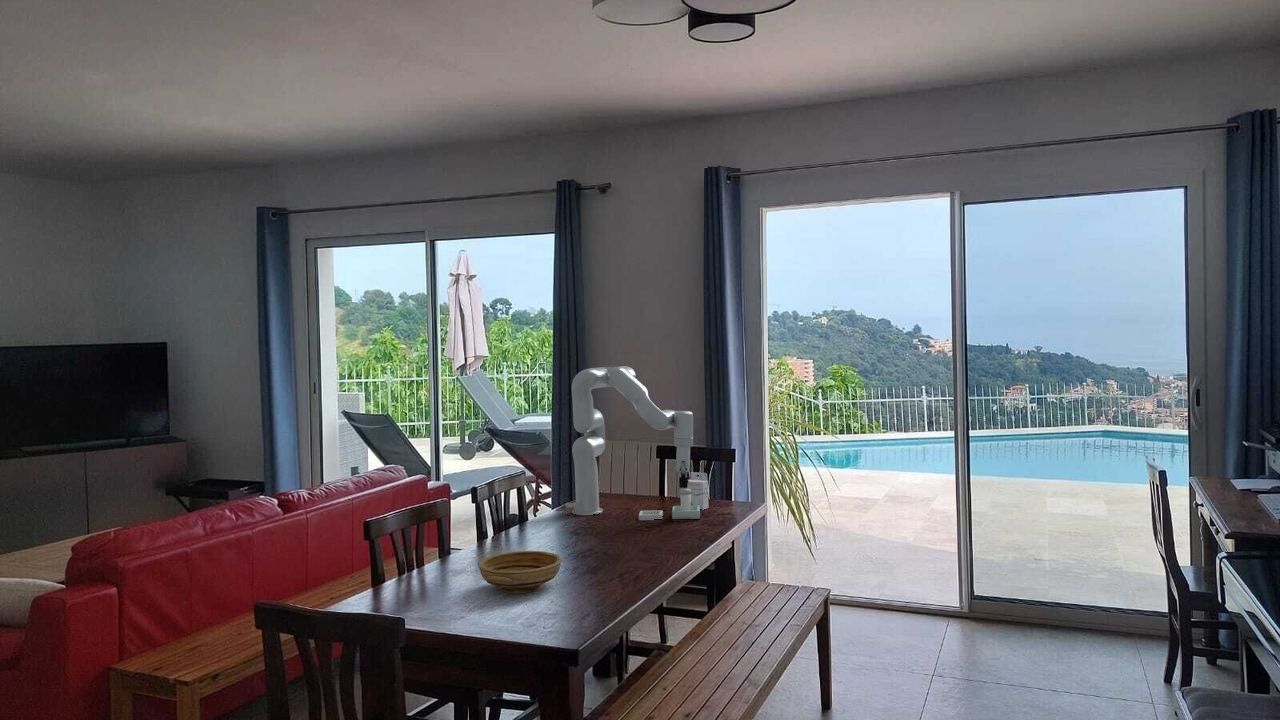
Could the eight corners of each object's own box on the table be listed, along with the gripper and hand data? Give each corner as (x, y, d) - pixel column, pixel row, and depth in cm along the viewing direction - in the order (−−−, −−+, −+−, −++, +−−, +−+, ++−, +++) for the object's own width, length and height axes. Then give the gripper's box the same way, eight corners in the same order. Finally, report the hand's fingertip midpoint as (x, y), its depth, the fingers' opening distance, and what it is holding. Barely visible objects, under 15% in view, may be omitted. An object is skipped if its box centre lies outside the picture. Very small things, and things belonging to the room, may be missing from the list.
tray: (672, 520, 344) (672, 511, 344) (673, 514, 355) (673, 506, 354) (699, 519, 343) (699, 510, 343) (699, 514, 354) (699, 505, 354)
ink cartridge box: (685, 508, 367) (684, 473, 366) (691, 506, 371) (690, 471, 370) (703, 510, 362) (702, 474, 362) (709, 508, 366) (708, 472, 366)
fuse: (680, 516, 347) (679, 490, 347) (680, 513, 351) (679, 488, 351) (691, 515, 346) (690, 490, 346) (691, 513, 351) (691, 488, 351)
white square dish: (638, 520, 346) (638, 515, 346) (640, 515, 355) (640, 510, 355) (661, 520, 345) (661, 514, 345) (662, 515, 354) (662, 510, 354)
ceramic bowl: (509, 572, 274) (508, 546, 274) (580, 577, 265) (579, 550, 265) (457, 599, 246) (456, 571, 246) (534, 606, 238) (533, 576, 238)
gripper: (675, 439, 357) (675, 481, 358) (673, 445, 340) (673, 489, 340) (693, 439, 356) (693, 481, 357) (692, 445, 339) (692, 489, 340)
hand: (683, 485), depth 349 cm, fingers open, 9 cm apart
